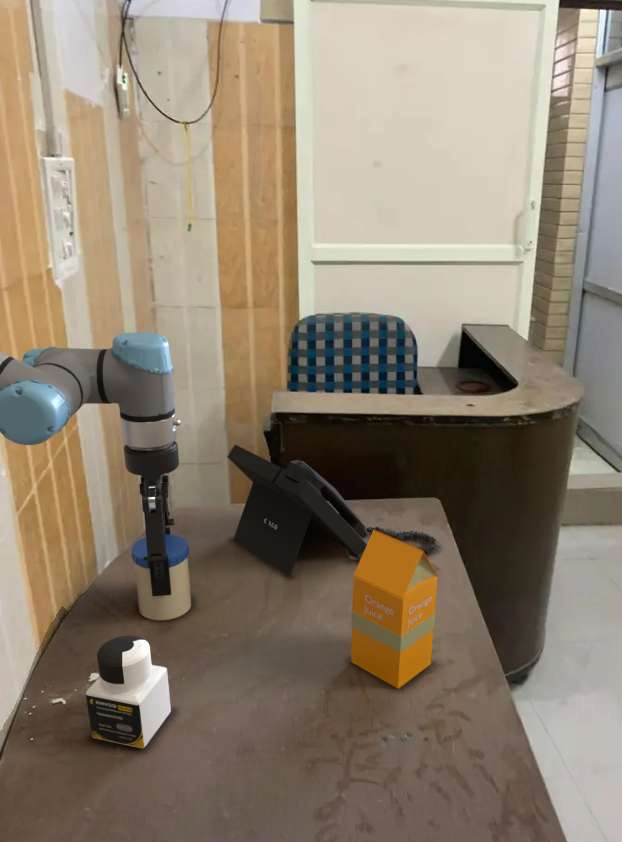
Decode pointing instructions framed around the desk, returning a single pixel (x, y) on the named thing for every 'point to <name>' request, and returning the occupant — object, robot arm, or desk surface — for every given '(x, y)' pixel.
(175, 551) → the jar lid
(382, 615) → the orange juice
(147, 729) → the medicine bottle
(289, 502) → the office phone
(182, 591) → the jar
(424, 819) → the desk surface
